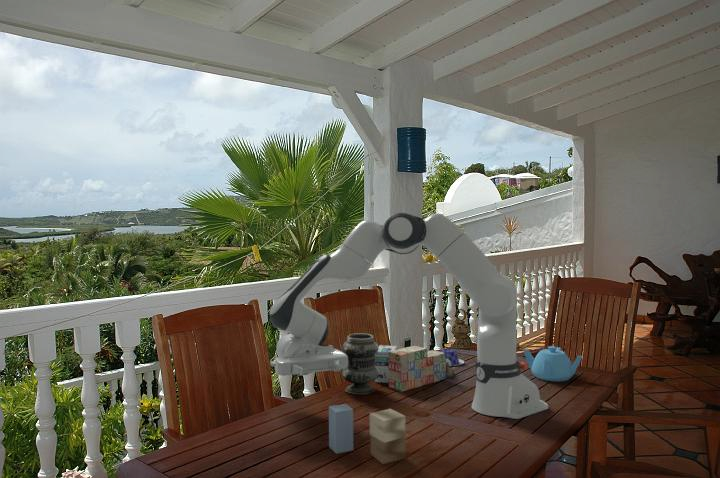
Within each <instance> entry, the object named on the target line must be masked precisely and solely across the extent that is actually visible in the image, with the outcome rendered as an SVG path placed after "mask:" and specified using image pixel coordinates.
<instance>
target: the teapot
mask: <svg viewBox="0 0 720 478" xmlns="http://www.w3.org/2000/svg"><path fill="white" fill-rule="evenodd" d="M523 353H524V356H525V359H526V363H527V364H528V365H527V366H528V367H529V369H530V370H531V373H532V374H533V376H534V377H535V378H536V379H539V380H542V381H547V382H554V383H555V382H558V383H559V382H566V381H567V382H568V381H569V380H570V379H571V378H572V377H573V376H574V375H575V373H576V371H577V369H578V367H579V365H580V363H581V360H582V359H583V356H582V355H577V356H576V358H575V359H574V362H573V363H572V362H571V360H570V358H569V357H568V355H567V354H566V352H564V351H563V350H562V348H561V347H558V346H557V347H556V346H554V345H549V346H548V347H547V348H544V349H541V350H540V351H539V352H538V353H537V354H536V356H535V358H534V356H533V355H532V354H531V351H530V350H529V349H524V350H523Z"/></svg>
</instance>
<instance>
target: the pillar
mask: <svg viewBox="0 0 720 478" xmlns="http://www.w3.org/2000/svg"><path fill="white" fill-rule="evenodd" d="M328 447H329V448H330V450H332V451H333V452H334V453H335V454H341V453H346V452H351V451H354V409H353V408H352V407H351V406H350V405H348V404H347V403H342V404H341V403H340V404H336V405H329V406H328Z"/></svg>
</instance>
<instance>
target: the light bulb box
mask: <svg viewBox="0 0 720 478" xmlns="http://www.w3.org/2000/svg"><path fill="white" fill-rule="evenodd" d="M378 347H379V348H378V351H377V353H375V367H376V368H377V370H378V372H379V375H378V377H377V378H376V379H375V380H374V381H375V383H381V382H382V383H383V384H389V369H388V361H389V356H388V352H389V351H393V350H398V349H399V348H398V346H397V345H383V344H379V345H378ZM382 383H381V384H382Z"/></svg>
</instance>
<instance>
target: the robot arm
mask: <svg viewBox="0 0 720 478" xmlns="http://www.w3.org/2000/svg"><path fill="white" fill-rule="evenodd" d="M419 246H422V247H424V248H426V249H427V250H428V251H429V252H431V253H432V255H434V257H435V258H437V260H438V261H439V262H440V263H441V264H442V265H443V266H444V268H445V269H446V270H447V271H448V272H449V273H450V274H451V276H453V277H454V279H455V280H456V281H457V282H458V284H459V285H460V286H461V289H463V290H464V292H465V293H466V295H467V296H468V297H469V299H470V300H471V301H472V302H473V303H474V304H475V305H476V307H477V309H478V316H477V317H478V318H477V319H478V321H477V331H476V335H477V336H476V337H477V338H476V339H477V340H476V344H477V345H476V348H477V349H476V351H477V353H476V356H477V358H476V359H475V375H476V376H475V377H476V383H475V389H474V390H475V391H474V396H473V400H472V403H471V409H472V410H473V411H475V412H476V413H478V414H482V415H486V416H490V417H497V418H498V417H500V418H501V417H502V418H509V419H516V420H518V419H522V418H525V417H527V416H531V415H534V414H537V413H539V412H543V411H546V410H548V409H549V405H548V403H547V402H545V401H544V400H542V399H541V397H540V391H539V388H538V386H537V385H536V384H535V383H534V382H533V381H532V380H530V379H529V378H528V377H526V376H525V375H524V374H523V373H522V371H521V369H522V370H524V371H526V370H528V367H529V365H528V362H524V361H518V360H517V319H518V318H517V315H518V313H517V310H518V307H517V304H518V302H517V301H518V293H517V291H518V290H517V287H516V284H515V283H514V281H513V280H512V278H511V277H509V276H507V275H505V274H501V273H500V271H498V269H497V267H495V266H494V265H493V263H492V262H491V261H490V259H489V258H488V257H487V255H485V253H484V252H483V251H482V250H481V249H480V247H478V245H476V244H475V242H474V241H473V240H472V239H471V238H470V237H469V236H468V235H467V234H466V233H465V232H464V231H463V230H462V229H461V227H460V226H458V225H456V224H455V222H453V221H452V220H451V219H449V218H448V217H447V216H445V215H444V214H442V213H438V212H436V213H432V214H429V215H428V216H426V218H422V217H419V216H417V215H413V214H410V213H406V212H396V213H393V214H391V215H390V216H388V218H387V219H386V220H385V221H384V224H379V223H378V222H377V221H374V220H371V219H364V220H362V221H360V222H359V223H358V224H357V225H356V226H355V227H354V228H353V229H352V230H351V231H350V233H349V234H348V235H347V237H346V238H345V239H344V240H343V242H342V244H341V245H340V246H339V247H338V248H337V249H336V250H335V251H334V252H332V253H330V254H323V255H321V256H320V257H319V258H317V259H316V260H315V261H314V262H313V263H312V264H311V265H310V266H309V267H308V268H307V269H306V270H305V271H304V272H303V274H302V275H301V276H300V277H299V278H298V279H297V280H296V281H295V282H294V283H293V284H292V285H291V286H290V287H289V288H288V289H287V291H285V292H284V293H283V294H282V295H281V296H280V297H278V298H277V299H276V301H274V302H273V304H272V306H271V307H270V309H269V313H268V314H269V319H270V323H271V325H272V326H273V327H274V328H276V329H278V330H281V331H283V332H285V333H288V334H285V335H283V336H281V337H280V338H279V339H278V341H277V342H276V354H277V356H276V357H275V358H274V360H271V361H270V362H269V365H270V366H271V367H274V372H275V373H276V374H277V375H278V376H281V377H284V376H293V375H300V376H307V375H310V374H312V373H319V372H327V371H333V372H334V373H335V372H336V373H337V372H341V370H343V369H346V368H347V367H348V356H347V355H346V353H344V352H343V350H339V349H338V348H334V346H333V345H332V344H324V343H325V342H326V340H327V337H328V335H329V332H330V330H329V327H330V326H329V321H328V318H327V317H326V316H325V315H323V314H322V313H320V312H318V311H316V310H315V309H313V308H311V307H310V306H308V305H306V304H304V303H303V302H301V301H302V299H303V298H304V297H305V296H306V295H308V293H309V292H310V291H311V290H312V288H313V287H315V285H316V284H317V283H318V282H320V281H322V280H325V279H332V280H338V281H339V280H340V281H345V282H346V281H347V282H349V281H351V282H353V281H357V280H360V279H361V278H364V277H365V275H366V274H367V273H368V272H369V269H370V268H371V267H372V265H373V264H374V263H375V261H376V259H377V258H378V256H379V255H380V254H381V253H382V252H383V251H389V252H392V253H395V254H400V255H408V254H411V253H413V252H415V251H416V250H417V249H418V248H419Z"/></svg>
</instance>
